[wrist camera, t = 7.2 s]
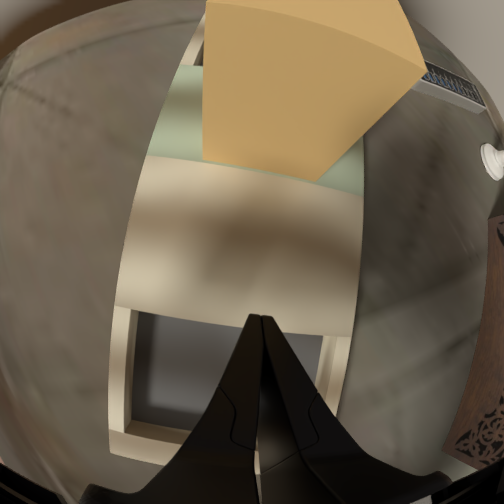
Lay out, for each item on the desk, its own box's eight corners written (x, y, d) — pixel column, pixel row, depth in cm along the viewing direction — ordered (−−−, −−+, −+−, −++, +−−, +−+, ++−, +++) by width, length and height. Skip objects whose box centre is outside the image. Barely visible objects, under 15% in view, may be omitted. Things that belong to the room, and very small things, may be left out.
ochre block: (315, 181, 17) (427, 71, 6) (202, 159, 16) (206, 2, 5) (319, 98, 18) (390, -14, 7) (224, 77, 17) (245, -57, 6)
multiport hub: (396, 63, 24) (405, 52, 22) (465, 91, 27) (474, 83, 24) (409, 91, 24) (420, 80, 22) (477, 115, 26) (487, 109, 24)
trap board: (308, 454, 17) (320, 470, 15) (119, 436, 15) (110, 452, 13) (343, 50, 23) (352, 35, 20) (209, 19, 21) (210, 2, 18)
